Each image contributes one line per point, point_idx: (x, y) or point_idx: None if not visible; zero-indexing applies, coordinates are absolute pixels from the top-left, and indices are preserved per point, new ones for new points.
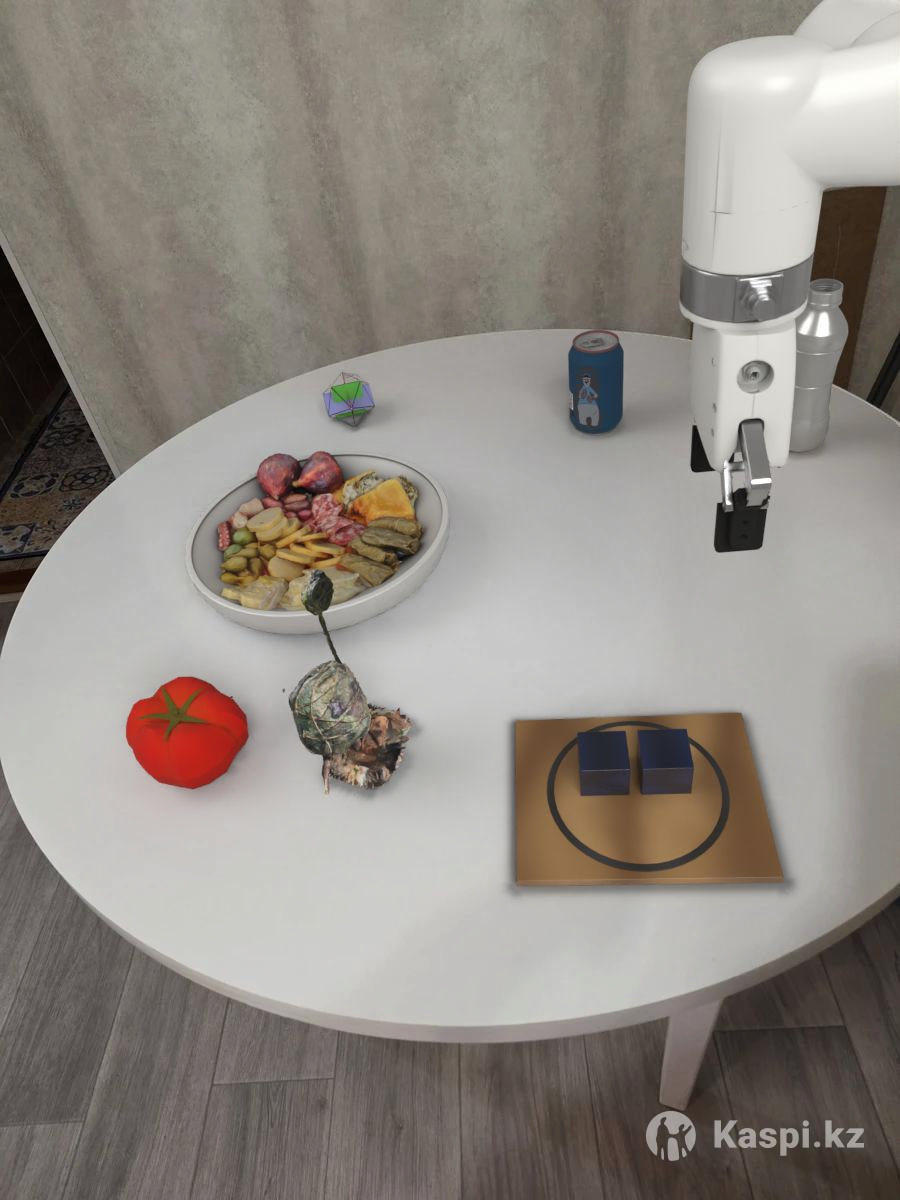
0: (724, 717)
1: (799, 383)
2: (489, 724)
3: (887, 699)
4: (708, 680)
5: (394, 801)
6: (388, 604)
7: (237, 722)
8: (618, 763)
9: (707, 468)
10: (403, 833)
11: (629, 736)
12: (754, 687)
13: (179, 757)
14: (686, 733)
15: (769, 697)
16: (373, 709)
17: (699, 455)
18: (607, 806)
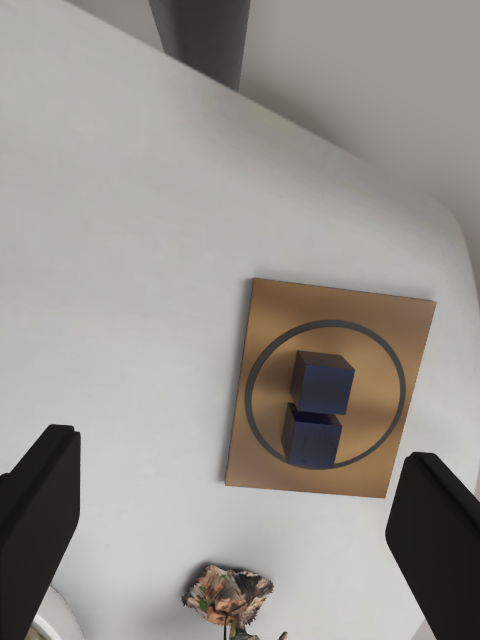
0: (258, 298)
1: None
2: (218, 501)
3: (257, 107)
4: (196, 293)
5: (285, 571)
6: (58, 604)
7: None
8: (333, 435)
9: (76, 496)
10: (317, 565)
11: (266, 393)
12: (214, 249)
13: None
14: (312, 366)
15: (231, 238)
16: (191, 596)
17: (56, 559)
18: None
